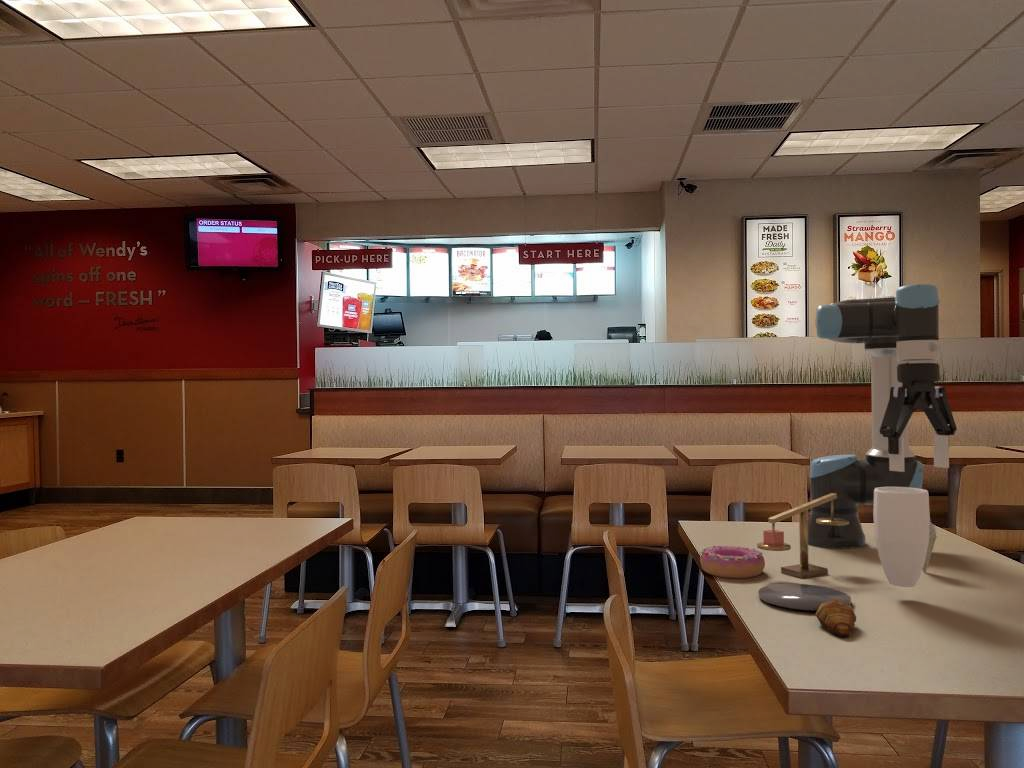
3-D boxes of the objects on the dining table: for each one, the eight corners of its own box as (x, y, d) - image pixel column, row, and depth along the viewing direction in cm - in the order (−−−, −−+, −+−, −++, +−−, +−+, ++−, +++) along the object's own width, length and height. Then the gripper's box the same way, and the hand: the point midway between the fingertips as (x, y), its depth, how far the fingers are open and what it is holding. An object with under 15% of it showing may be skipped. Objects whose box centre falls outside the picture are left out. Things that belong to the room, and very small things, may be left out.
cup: (909, 609, 143) (908, 495, 143) (861, 596, 152) (860, 488, 152) (944, 601, 148) (942, 490, 148) (895, 589, 157) (894, 485, 157)
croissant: (866, 641, 127) (866, 611, 127) (823, 639, 128) (822, 609, 128) (847, 617, 140) (846, 590, 140) (808, 615, 141) (808, 588, 141)
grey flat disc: (740, 596, 154) (740, 590, 154) (802, 585, 161) (802, 579, 161) (805, 618, 138) (805, 612, 138) (871, 606, 146) (870, 599, 146)
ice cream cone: (936, 570, 172) (935, 504, 172) (938, 575, 168) (937, 507, 168) (911, 568, 174) (910, 503, 174) (912, 573, 170) (911, 506, 170)
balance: (774, 583, 163) (772, 502, 163) (750, 576, 169) (749, 498, 169) (856, 570, 174) (855, 494, 174) (831, 563, 180) (830, 490, 180)
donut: (775, 571, 174) (775, 549, 174) (747, 584, 164) (746, 560, 164) (718, 562, 184) (718, 541, 184) (688, 573, 174) (687, 551, 174)
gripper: (893, 361, 143) (894, 474, 142) (975, 362, 154) (977, 467, 154) (858, 362, 149) (860, 471, 149) (940, 363, 161) (941, 464, 160)
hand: (919, 469), depth 151 cm, fingers open, 13 cm apart
